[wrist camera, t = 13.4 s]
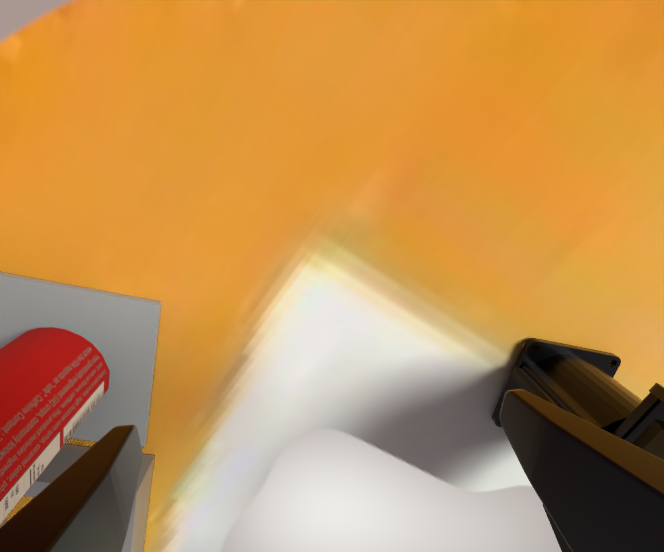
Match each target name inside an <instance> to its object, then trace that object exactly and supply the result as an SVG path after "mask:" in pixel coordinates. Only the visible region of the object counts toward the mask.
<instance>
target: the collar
mask: <svg viewBox="0 0 664 552" xmlns="http://www.w3.org/2000/svg"><path fill="white" fill-rule="evenodd" d="M90 448H91V447H86V446H78V445H70V444H64V446H63V447H62V448H61V449H60V451H59V452H58V453H57V454H56V456H55V457H54V458H53V459H52V461H51V462H50V463H49V464H48V466H47V467H46V468H45V469H44V471H43V472H42V473H41V474H40V476H39V477H38V478H37V479H36V481H35V482H34V483H33V484H32V486H31V487H30V488H29V489H28V491H27V492H26V493H25V494H24V496H28V497H36V496H37V495H38V494H39V493H40V492H41V491H42V490H43V489H45V488H46V487H47V486H48V485H49V484H50V483H51V482H52V481H54V480H55V479H56V478H57V477H58V476H59V475H60V474H62V473H63V472H64V471H65V470H66V469H67V468H68V467H69V466H71V465H72V464H73V463H74V462H75V461H76V460H77V459H78V458H80V457H81V456H82V455H83V454H84V453H85V452H86V451H88V450H89V449H90ZM142 455H143V457H142V465H141V470H140V474H139V479H138V484H137V489H136V493H135V498H134V503H133V507H132V512H131V517H130V521H129V526H128V530H127V535H126V538H125V542H124V545H123V548H122V552H143V550H144V542H145V533H146V525H147V516H148V508H149V499H150V491H151V483H152V474H153V466H154V457H155V455H149V454H142ZM5 523H6V518H5V519H4V521H3V522H2V523H1V524H0V528H1V527H2V526H3V525H4V524H5Z"/></svg>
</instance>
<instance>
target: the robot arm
mask: <svg viewBox="0 0 664 552" xmlns="http://www.w3.org/2000/svg"><path fill="white" fill-rule="evenodd" d="M534 345H536V346H535V348H533V349H532V347H533V346H534ZM620 363H621V360H620V358H619V357H617V356H616V355H614V354H612V353H607V352H602V351H597V350H592V349H587V348H582V347H577V346H572V345H567V344H562V343H557V342H552V341H547V340H541V339H536V338H531V339H529V340H528V341H526V343H525V344H524V347H523V349H522V351H521V353H520V356H519V358H518V360H517V362H516V365H515V367H514V369H513V371H512V374H511V376H510V378H509V380H508V383H507V385H506V387H505V389H504V392H503V394H502V396H501V398H500V400H499V403H498V405H497V407H496V409H495V412H494V414H493V417H492V419H493V421H494V423H495V424H496V425H497V426H498V427H502V428H503V429H504V431H505V433H506V435H507V437H508V439H509V441H510V443H511V445H512V447H513V449H514V452H515V454H516V456H517V458H518V460H519V462H520V464H521V466H522V468H523V470H524V472H525V474H526V475H527V477H528V479H529V481H530V483H531V485H532V486H533V488H534V490H535V491H536V493H537V494H538V496H539V498H540V499H541V501H542V503H543V507H544V509H545V512H546V514H547V517H548V519H549V521H550V524H551V526H552V529H553V531H554V533H555V536H556V538H557V541H558V543H559V546H560V548H561V550H562V552H664V387H663V386H661V385H660V384H658V383H656V384H655V385H654V386H653V387H652V388H651V389H650V390H649V392H650V394H649V395H648V396H647V397H646V398H645V399H644V400H643V401H642V400H641V399H640V398H638V397H637V396H636V395H634V394H633V393H632V392H630V391H629V390H628V389H626V388H625V387H624V386H622V385H621V384H620V383H618V382H617V381H616V380H614V379H613V377H614V375H615V373H616V371H617V369H618V367H619V366H620ZM142 457H143V455H142V448H141V443H140V438H139V433H138V429H137V427H136V425H133V424H131V425H120V426H116V427H114V428H112V429H111V430H110V431H109V432H108V433H107V434H106V435H104V436H103V437H102V438H101V439H100V440H99V441H98V442H97V443H95V444H94V445H93V446H92V447H91V448H90V449H89V450H88V451H86V452H85V453H84V454H83V455H82V456H81V457H80V458H78V459H77V460H76V461H75V462H74V463H73V464H72V465H71V466H69V467H68V468H67V469H66V470H65V471H64V472H63V473H62V474H60V475H59V476H58V477H57V478H56V479H55V480H54V481H52V482H51V483H50V484H49V485H48V486H47V487H46V488H45V489H43V490H42V491H41V492H40V493H39V494H38V495H37V496H36V497H34V498H33V499H32V500H31V501H30V502H29V503H28V504H26V505H25V506H24V507H23V508H22V509H21V510H20V511H19V512H17V513H16V514H15V515H14V516H13V517H12V518H11V519H10V520H8V521H7V522H6V523H5V524H4V525H3V526H2V527H1V528H0V552H122V548H123V545H124V542H125V538H126V535H127V530H128V526H129V521H130V517H131V512H132V507H133V503H134V498H135V493H136V489H137V484H138V479H139V474H140V470H141V465H142Z"/></svg>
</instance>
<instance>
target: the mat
mask: <svg viewBox="0 0 664 552" xmlns="http://www.w3.org/2000/svg"><path fill="white" fill-rule="evenodd" d="M161 303H162V302H161V301H155V300H150V299H144V298H139V297H133V296H128V295H123V294H117V293H112V292H106V291H101V290H95V289H90V288H84V287H79V286H74V285H68V284H63V283H57V282H52V281H46V280H41V279H35V278H30V277H25V276H19V275H14V274H8V273H3V272H0V349H1V348H2V347H4V346H5V345H7V344H8V343H10V342H11V341H13V340H14V339H16V338H17V337H19V336H20V335H22V334H23V333H25V332H26V331H29V330H32V329H36V328H49V327H55V328H60V329H65V330H68V331H71V332H73V333H76V334H78V335H80V336H82V337H84V338H85V339H87V340H88V341H89V342H91V343H92V344H93V345H94V346H95V347H96V348H97V349H98V350H99V351H100V353H101V354H102V355H103V357H104V359H105V362H106V364H107V366H108V368H109V370H110V375H109V389H108V390H107V391H106V393H105V394H104V395H103V397H102V398H101V399H100V400H99V402H98V403H97V404H96V406H95V407H94V408H93V409H92V411H91V412H90V413H89V414H88V416H87V417H86V418H85V419H84V421H83V422H82V423H81V424H80V426H79V427H78V428H77V429H76V431H75V432H74V433H73V434H72V436H71V437H70V438H72V439H80V440H88V441H96V442H98V441H99V440H100V439H101V438H102V437H103V436H104V435H106V434H107V433H108V432H109V431H110V430H111V429H112V428H114V427H116V426H120V425H131V424H133V425H136V427H137V429H138V433H139V438H140V443H141V447H142V448H144V446H145V445H146V441H147V432H148V423H149V414H150V404H151V395H152V386H153V377H154V368H155V358H156V349H157V340H158V331H159V322H160V312H161Z"/></svg>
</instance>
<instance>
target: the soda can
mask: <svg viewBox="0 0 664 552" xmlns="http://www.w3.org/2000/svg"><path fill="white" fill-rule="evenodd" d="M109 375H110V370H109V368H108V366H107V364H106V362H105V359H104V357H103V355H102V354H101V353H100V351H99V350H98V349H97V348H96V347H95V346H94V345H93V344H92V343H91V342H89V341H88V340H87V339H85V338H84V337H82V336H80V335H78V334H76V333H73V332H71V331H68V330H65V329H60V328H55V327H49V328H36V329H32V330H29V331H26V332H25V333H23V334H22V335H20V336H19V337H17V338H16V339H14V340H13V341H11V342H10V343H8V344H7V345H5V346H4V347H2V348H1V349H0V524H1V523H2V522H3V521H4V519H5V518H6V517H7V516H8V514H9V513H10V512H11V511H12V509H13V508H14V507H15V506H16V504H17V503H18V502H19V501H20V499H21V498H22V497H23V496H24V494H25V493H26V492H27V491H28V489H29V488H30V487H31V486H32V484H33V483H34V482H35V481H36V479H37V478H38V477H39V476H40V474H41V473H42V472H43V471H44V469H45V468H46V467H47V466H48V464H49V463H50V462H51V461H52V459H53V458H54V457H55V456H56V454H57V453H58V452H59V451H60V449H61V448H62V447H63V446H64V444H65V443H66V442H67V441H68V439H69V438H70V437H71V436H72V434H73V433H74V432H75V431H76V429H77V428H78V427H79V426H80V424H81V423H82V422H83V421H84V419H85V418H86V417H87V416H88V414H89V413H90V412H91V411H92V409H93V408H94V407H95V406H96V404H97V403H98V402H99V400H100V399H101V398H102V397H103V395H104V394H105V393H106V391H107V390H108V389H109Z"/></svg>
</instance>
